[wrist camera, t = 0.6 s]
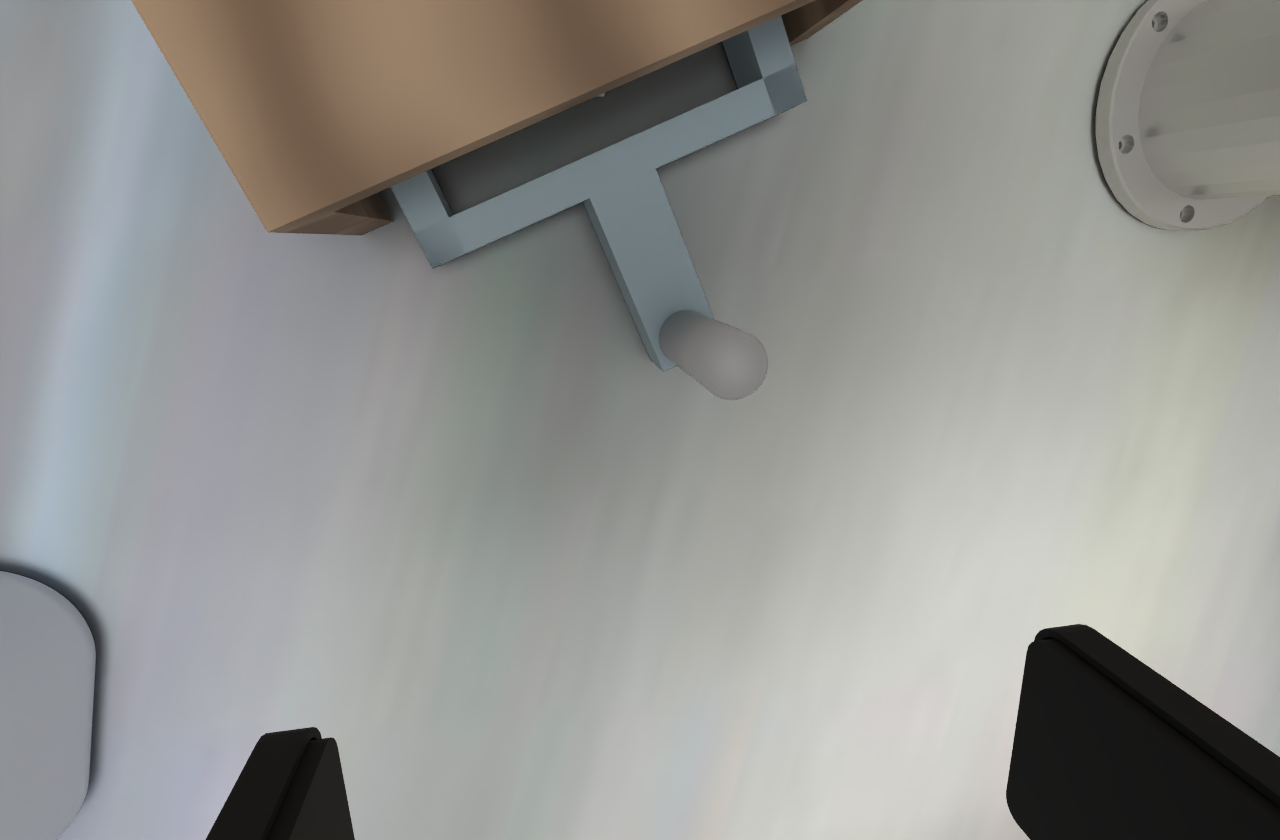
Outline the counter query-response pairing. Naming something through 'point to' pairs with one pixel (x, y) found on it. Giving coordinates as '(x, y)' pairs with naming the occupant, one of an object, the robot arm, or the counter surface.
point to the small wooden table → (413, 81)
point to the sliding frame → (639, 216)
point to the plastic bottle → (43, 709)
